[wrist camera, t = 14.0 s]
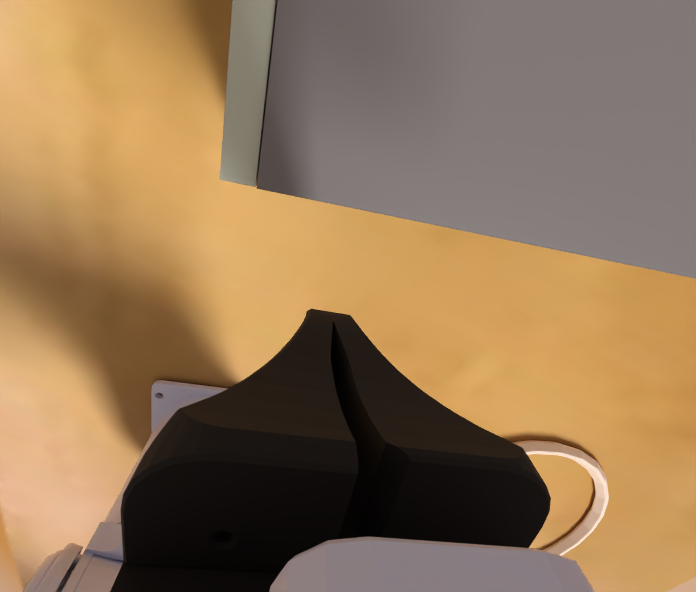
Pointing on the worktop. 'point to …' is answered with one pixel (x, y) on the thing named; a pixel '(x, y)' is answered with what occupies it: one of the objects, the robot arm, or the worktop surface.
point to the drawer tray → (247, 88)
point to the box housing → (494, 119)
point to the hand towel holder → (600, 487)
